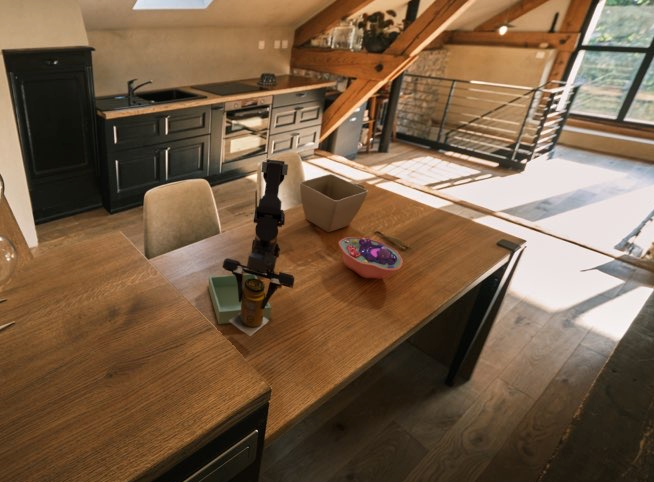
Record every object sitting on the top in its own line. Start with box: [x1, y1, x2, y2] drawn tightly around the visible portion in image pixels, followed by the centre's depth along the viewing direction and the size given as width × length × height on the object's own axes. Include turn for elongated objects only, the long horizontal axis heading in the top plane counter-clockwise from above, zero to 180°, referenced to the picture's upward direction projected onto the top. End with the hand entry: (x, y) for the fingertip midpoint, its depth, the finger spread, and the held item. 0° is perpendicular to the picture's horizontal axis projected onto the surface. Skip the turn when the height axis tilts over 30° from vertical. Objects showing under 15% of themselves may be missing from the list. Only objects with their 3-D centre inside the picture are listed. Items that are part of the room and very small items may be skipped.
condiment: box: [229, 278, 270, 337], centre depth 102 cm, size 7×8×12 cm
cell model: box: [338, 236, 404, 280], centre depth 130 cm, size 17×20×11 cm
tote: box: [207, 273, 272, 325], centre depth 117 cm, size 15×15×5 cm
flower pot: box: [299, 173, 369, 233], centre depth 158 cm, size 19×19×17 cm
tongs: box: [374, 230, 410, 251], centre depth 148 cm, size 4×13×2 cm, turn 35°
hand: (251, 305), depth 100 cm, fingers closed on condiment, 6 cm apart
